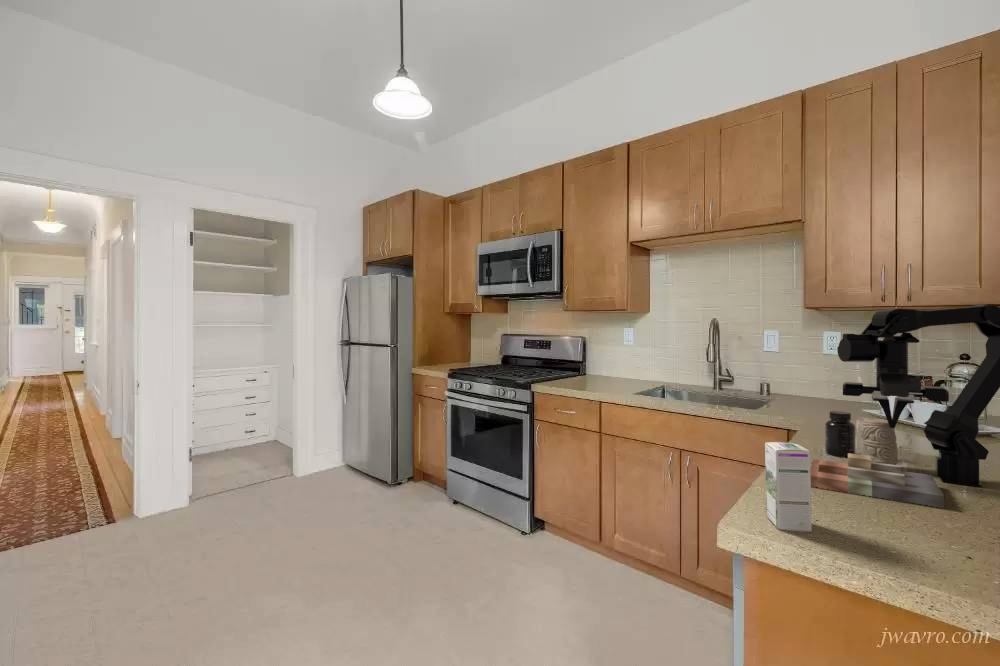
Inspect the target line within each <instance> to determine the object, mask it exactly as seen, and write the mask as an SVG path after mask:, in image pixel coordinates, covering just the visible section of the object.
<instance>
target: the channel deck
mask: <svg viewBox="0 0 1000 666" xmlns="http://www.w3.org/2000/svg"><path fill="white" fill-rule="evenodd" d="M810 475H811V488H815V487H818V488H817V489H821V488H824V489H823V490H827V489H829V491H833V490H835V491H834V492H839V491H841V492H840V493H845V492H846V493H845V494H851V493H852V494H851V495H857V494H858V496H863V495H865V496H864V497H869V496H871V497H870V498H875V497H877V499H881V498H884V499H883V500H887V499H890V500H889V501H894V500H897V501H896V502H900V501H902V503H906V502H909V503H908V504H912V503H915V504H914V505H918V504H922V505H921V506H924V505H928V506H927V507H930V506H933V507H932V508H936V507H939V508H938V509H942V508H943V509H944V510H945V495H944V493H943V491H942V490H941V488H940V487H939V486H938V483H937V482H936V480H935V479H934V477H933V475H932V474H927V473H919V472H912V471H905V470H904V471H903V470H902V466H901V465H897V464H896V465H891V464H883V463H875V462H871V470H869V469H861V468H854V467H848V463H847V462H846V463H844V462H838V461H831V460H830V461H829V460H823V459H815V458H814V459H813V458H812V460H811V464H810Z"/></svg>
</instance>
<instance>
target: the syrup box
mask: <svg viewBox="0 0 1000 666" xmlns="http://www.w3.org/2000/svg"><path fill="white" fill-rule="evenodd" d="M764 448H765V449H764V454H765V455H764V457H765V458H764V459H765V461H764V462H765V463H764V465H765V504H766V505H765V506H766V507H765V508H766V509H765V510H766V512H765V513H766V515H765V516H766V518H767V519H768V520H769V521H770V523H772V524H773V525H774V526H775V527H774V528H776V529H777V530H781V531H787V532H788V531H789V532H790V531H791V532H806V533H807V532H809V533H810V532H811V533H812V527H813V526H812V523H813V522H812V487H811V475H810V470H811V451H810V450H809V449H806V448H805V447H803V446H801V445H800V444H798V443H795V442H786V441H785V442H784V441H774V442H772V441H769V442H767V441H765V443H764Z"/></svg>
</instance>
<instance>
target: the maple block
mask: <svg viewBox="0 0 1000 666" xmlns="http://www.w3.org/2000/svg"><path fill="white" fill-rule="evenodd" d="M847 464H848V467H854V468H861V469H869V470H871V458H870V456H867V455H862V454H856V453H855V454H851V453H848V458H847Z"/></svg>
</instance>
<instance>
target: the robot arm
mask: <svg viewBox="0 0 1000 666" xmlns="http://www.w3.org/2000/svg"><path fill="white" fill-rule="evenodd" d="M971 323H972V324H974V325H975V326H976V328H977V330H978V332H979V333H981V334H982V335H983V336H985V337H986V338H987V340H986V342H985V355H986V356H985V357H984V359H983V360H982V362H981V363H980V365H979V366H978V367H977V369H976V370H975V372H974V373H973V374H972V376H971V377H970V378H969V380H968V382H967V384H965V386H964V388H963V389H962V391H960V393H959V395H958V396H957V398H956V399H955V400H954V402H953V403H952V405H951V406H950V407H949V408H948V409H946V410H944V411H942V410H937V409H934V410H933V411H932V413H931V414H930V416H929V418H928V419H927V421H925V422H923V424H924V425H925V427H924V429H923V433H924V435H925V438H926V439H927V441H929V443H930V445H931V447H932V449H933V450H935V451H938V456H936V457H935V475H936V476H937V477H938V478H939V480H940V481H941V482H944V483H951V484H958V485H964V486H973V487H980V488H981V487H982V483H981V482H980V460H982V461H985V460H986V459H987V457H988V455H989V453H990V451H989V450H988V449H987V448H986V447H985V446H983V444H982V443H980V442H979V441H978V440H977V437H978V434H979V431H980V430H979V418H980V417H981V415H982V414H983V412H984V411H985V409H986V408H987V407H988V405H989V404H990V402H991V401H992V399H993V398H994V396H995V395H996V394H997V393H998V391H999V389H1000V307H999V306H997V305H994V304H978V305H977V304H975V305H972V306H965V307H955V308H954V307H953V308H944V309H943V308H942V309H930V310H928V309H927V310H920V309H914V308H913V309H911V308H891V309H887V308H886V309H881V310H877V311H876V312H875V313H874V314H873V315H872V317H871V321H870V323H869V324H868V325H867V326H866V327H865V329H863V331H862V332H861V333H860V334H859V333H858V334H855V333H843V334H842V338H841V340H839V343H838V346H837V349H836V350H837V351H836V352H837V355H838V358H839V359H840V360H841V362H843V363H845V362H847V363H848V362H849V363H852V362H853V363H870V362H873V361H875V360H876V365H875V367H876V368H875V369H876V374H875V375H876V379H875V381H876V383H875V384H876V386H870V385H869V386H868V385H864V384H863V382H852V381H851V382H849V381H845V382H843V383H842V396H847V397H848V396H849V397H850V396H851V397H860V396H861V395H863V394H868V395H869V394H871V400H872V401H874V402H878V403H879V405H880V407H881V408H882V410H883V413H884V415H885V419H886V420H887V421H888V423H889V426H890V428H894V429H895V428H896V426H897V423H898V421H899V419H900V417H901V415H902V412H903V411H904V409H905V407H907V406H908V404H914V403H915V401H914V400H913V399H914V397H916V398H917V397H920V398H926V399H927V400H929V401H930V402H942V403H947V402H950V393H949V392H950V391H948V390H947V389H946V388H945V387H943V386H936V385H935V386H930V385H921V379H922V378H921V376H920V375H912V374H911V375H909V344H911V343H912V344H917V343H920V340H919V339H918V338H917V337H915V336H914V335H913V334H912V333H911V332H912V331H913V332H914V331H917V330H920V329H923V328H927V327H933V326H946V325H959V324H971ZM897 334H900V335H897ZM879 338H881V340H879ZM882 338H883V339H882ZM891 396H892V397H894V403H893V411H891V406H890V399H889V398H888V397H891Z"/></svg>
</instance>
